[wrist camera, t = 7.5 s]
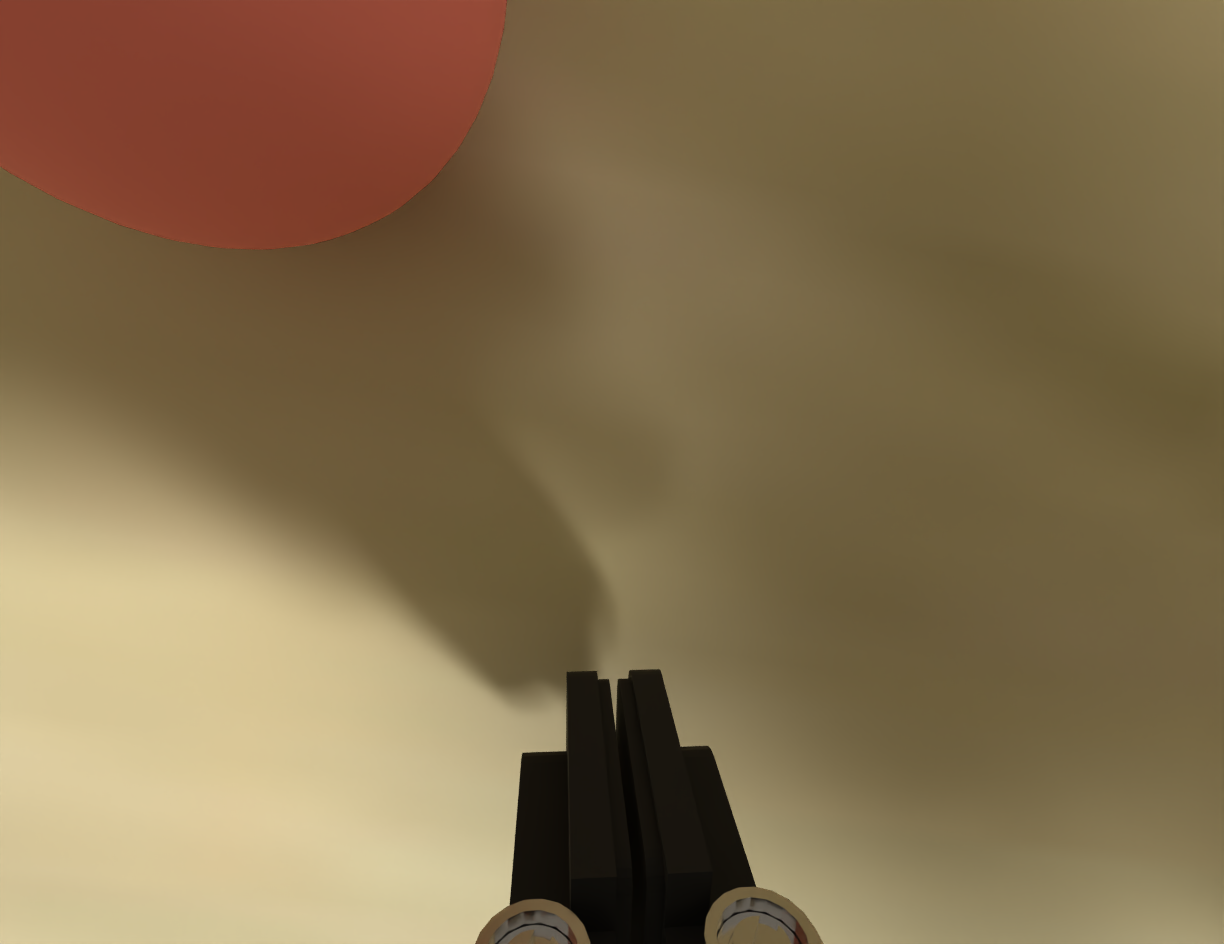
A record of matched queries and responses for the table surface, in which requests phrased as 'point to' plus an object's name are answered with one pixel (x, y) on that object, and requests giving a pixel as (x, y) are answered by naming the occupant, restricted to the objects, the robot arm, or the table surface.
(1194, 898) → the table surface
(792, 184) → the table surface
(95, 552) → the table surface
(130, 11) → the ball
